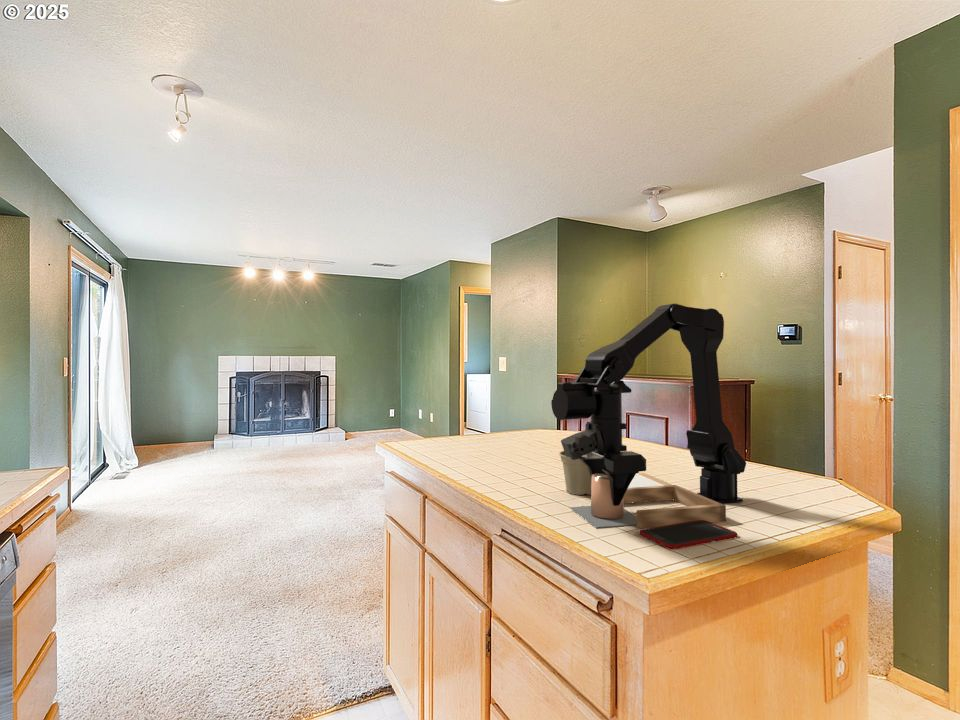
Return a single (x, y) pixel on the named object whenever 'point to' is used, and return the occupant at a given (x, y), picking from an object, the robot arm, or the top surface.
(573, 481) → the flower pot
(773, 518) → the top surface
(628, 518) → the mat
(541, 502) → the top surface
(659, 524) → the wooden u-shaped frame
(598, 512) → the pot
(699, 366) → the robot arm
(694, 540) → the cell phone
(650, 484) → the wood framed whiteboard
